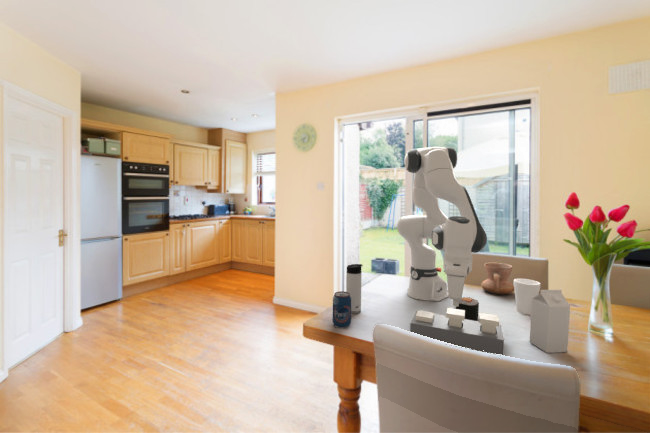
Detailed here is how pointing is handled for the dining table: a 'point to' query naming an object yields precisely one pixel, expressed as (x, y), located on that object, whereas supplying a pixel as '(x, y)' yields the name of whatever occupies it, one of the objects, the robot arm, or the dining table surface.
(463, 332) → the block
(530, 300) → the foam cup
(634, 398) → the dining table surface
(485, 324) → the knob
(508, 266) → the ceramic jug
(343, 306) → the soda can
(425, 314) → the knob
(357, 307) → the travel mug
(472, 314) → the sushi
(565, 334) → the milk carton
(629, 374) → the dining table surface
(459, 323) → the knob middle
